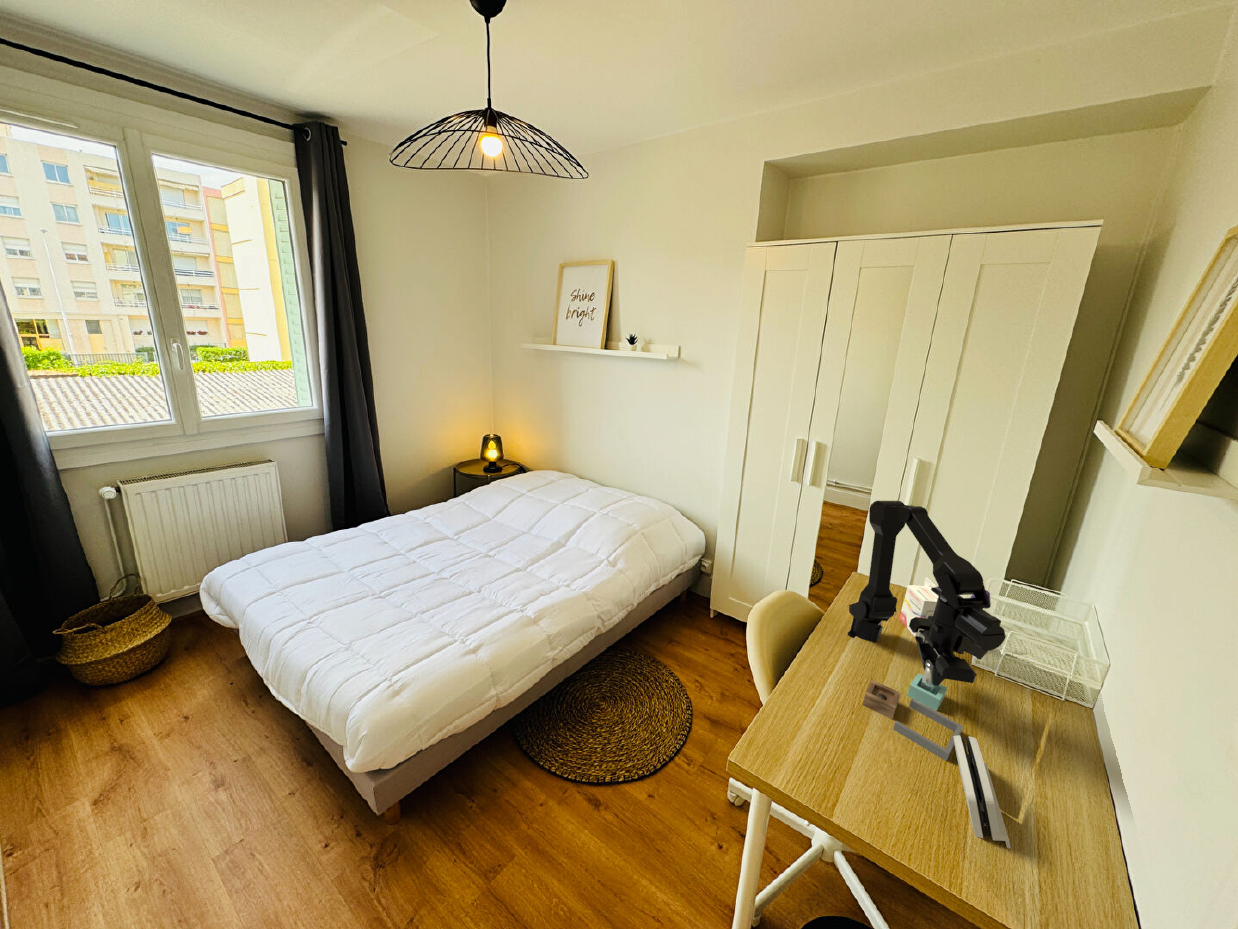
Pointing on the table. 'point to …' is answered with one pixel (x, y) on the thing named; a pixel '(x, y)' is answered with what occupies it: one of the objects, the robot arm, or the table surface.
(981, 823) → the grey slotted housing
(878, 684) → the walnut block
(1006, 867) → the table surface
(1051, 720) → the table surface
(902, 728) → the grey u-shaped bracket
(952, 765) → the table surface
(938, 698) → the teal block
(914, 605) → the ink cartridge box
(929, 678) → the metal cylinder peg
